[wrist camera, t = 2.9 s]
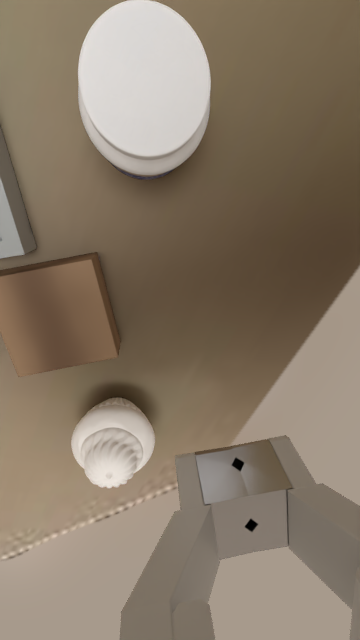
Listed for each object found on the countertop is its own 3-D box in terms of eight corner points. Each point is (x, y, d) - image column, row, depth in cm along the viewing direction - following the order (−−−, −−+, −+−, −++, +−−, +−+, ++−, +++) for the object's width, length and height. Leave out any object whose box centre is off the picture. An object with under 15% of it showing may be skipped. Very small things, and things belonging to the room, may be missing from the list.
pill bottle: (122, 194, 22) (105, 195, 13) (81, 99, 20) (26, 18, 11) (202, 159, 22) (245, 136, 12) (170, 60, 20) (192, -58, 10)
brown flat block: (97, 251, 24) (91, 259, 21) (120, 339, 26) (117, 357, 23) (-2, 270, 23) (-21, 280, 21) (32, 357, 26) (18, 377, 23)
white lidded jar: (65, 401, 27) (40, 467, 21) (131, 369, 27) (127, 426, 20) (104, 452, 29) (92, 526, 23) (166, 424, 29) (172, 491, 22)
